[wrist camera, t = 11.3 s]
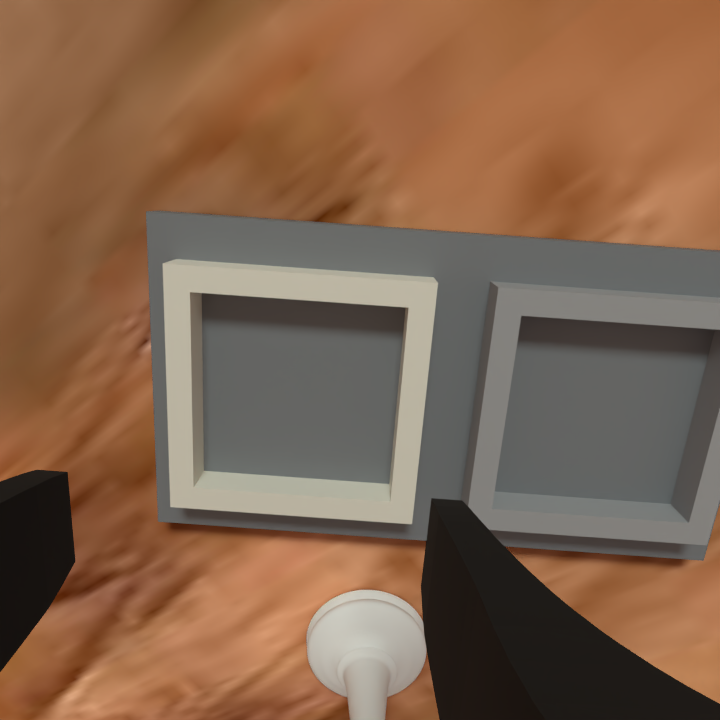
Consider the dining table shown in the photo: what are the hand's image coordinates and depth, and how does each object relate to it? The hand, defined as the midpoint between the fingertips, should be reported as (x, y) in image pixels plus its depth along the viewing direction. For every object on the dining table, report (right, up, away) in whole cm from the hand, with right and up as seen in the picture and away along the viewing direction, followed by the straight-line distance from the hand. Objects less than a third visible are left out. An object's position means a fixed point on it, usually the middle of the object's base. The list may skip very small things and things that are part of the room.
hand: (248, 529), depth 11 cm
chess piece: (+2, -8, +12) cm, 15 cm away
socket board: (+5, +2, +9) cm, 11 cm away
